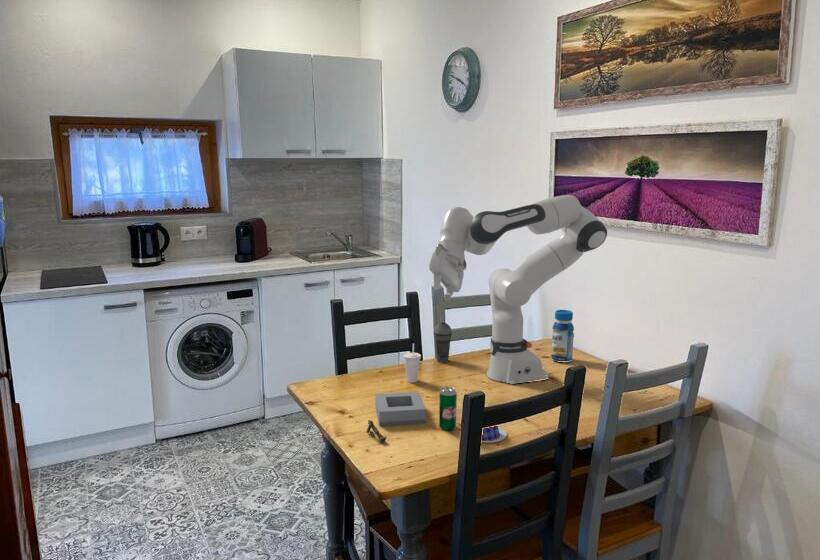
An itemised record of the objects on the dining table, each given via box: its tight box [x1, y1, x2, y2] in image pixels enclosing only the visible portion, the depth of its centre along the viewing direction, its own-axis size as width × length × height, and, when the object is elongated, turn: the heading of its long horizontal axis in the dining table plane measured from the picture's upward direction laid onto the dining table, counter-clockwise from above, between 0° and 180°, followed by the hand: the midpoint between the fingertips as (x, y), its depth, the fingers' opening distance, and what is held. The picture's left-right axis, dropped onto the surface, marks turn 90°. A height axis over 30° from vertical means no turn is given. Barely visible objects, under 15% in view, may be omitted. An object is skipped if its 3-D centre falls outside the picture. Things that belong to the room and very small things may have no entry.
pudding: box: [481, 425, 508, 443], centre depth 173 cm, size 12×12×5 cm
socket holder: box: [374, 391, 427, 427], centre depth 187 cm, size 14×14×4 cm
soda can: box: [438, 386, 458, 431], centre depth 177 cm, size 5×5×12 cm
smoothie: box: [402, 343, 422, 384], centre depth 215 cm, size 6×6×14 cm
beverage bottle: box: [550, 309, 575, 361], centre depth 237 cm, size 8×8×20 cm
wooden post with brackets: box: [366, 419, 387, 444], centre depth 172 cm, size 2×8×4 cm, turn 38°
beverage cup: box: [433, 311, 453, 364], centre depth 236 cm, size 7×7×20 cm
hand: (441, 295), depth 187 cm, fingers open, 8 cm apart
